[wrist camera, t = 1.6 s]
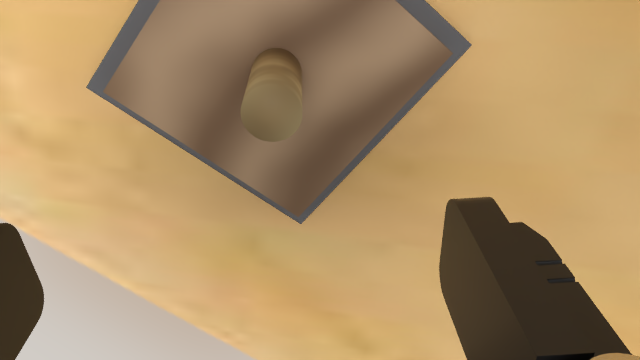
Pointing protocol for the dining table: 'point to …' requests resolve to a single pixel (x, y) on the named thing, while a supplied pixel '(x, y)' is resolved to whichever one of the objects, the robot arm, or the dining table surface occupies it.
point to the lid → (276, 83)
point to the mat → (145, 6)
